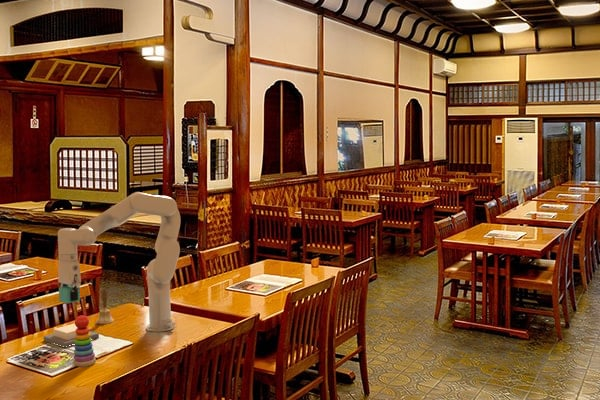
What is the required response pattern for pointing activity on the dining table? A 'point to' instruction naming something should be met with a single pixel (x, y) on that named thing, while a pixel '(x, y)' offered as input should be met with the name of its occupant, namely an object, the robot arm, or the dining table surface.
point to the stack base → (66, 342)
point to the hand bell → (104, 311)
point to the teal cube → (67, 294)
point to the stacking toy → (83, 343)
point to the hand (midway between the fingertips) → (69, 298)
